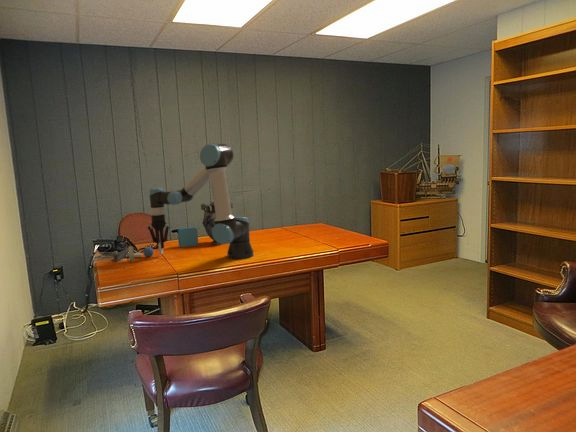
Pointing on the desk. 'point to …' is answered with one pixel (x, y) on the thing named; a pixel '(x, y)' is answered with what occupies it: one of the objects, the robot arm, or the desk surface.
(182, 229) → the data package
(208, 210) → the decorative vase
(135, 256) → the ivory pin
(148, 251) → the ball
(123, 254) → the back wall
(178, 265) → the desk surface
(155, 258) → the desk surface
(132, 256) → the sage pin
